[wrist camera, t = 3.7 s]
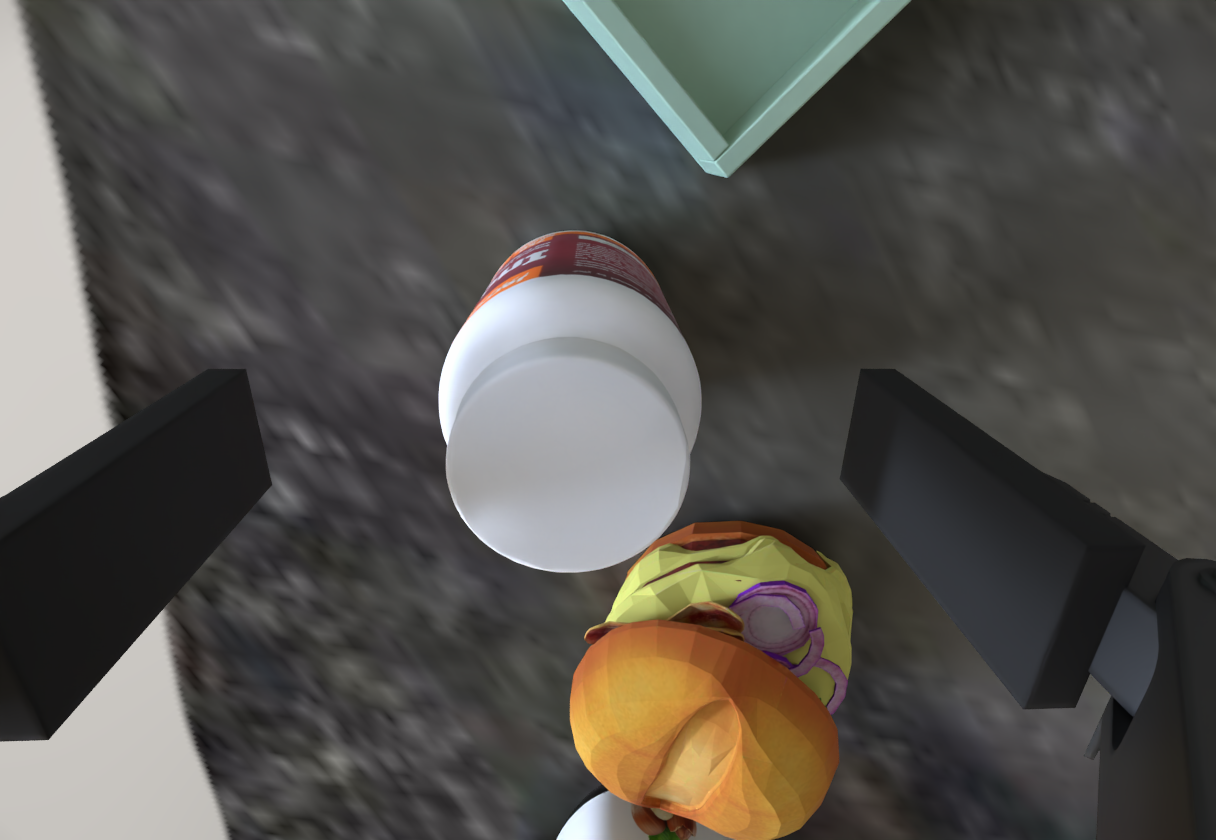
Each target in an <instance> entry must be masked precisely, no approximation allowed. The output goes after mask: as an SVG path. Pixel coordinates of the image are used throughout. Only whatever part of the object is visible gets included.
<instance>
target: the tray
mask: <svg viewBox="0 0 1216 840" xmlns="http://www.w3.org/2000/svg"><path fill="white" fill-rule="evenodd" d="M562 1H563V2H564V3H565V4H566V5H567V7H568V8H569V9H570V10H571V11H572V13H573V14H574V15H575V16H576V17H577V19H578V20H579V21H580V22H581V23H582V25H583V26H584V27H585V28H586V29H587V31H588V32H589V33H590V34H591V35H592V37H593V38H594V39H595V40H596V41H597V43H598V44H599V45H600V46H601V47H602V49H603V50H604V51H605V52H606V53H607V55H608V56H609V57H610V58H611V59H612V61H613V62H614V63H615V64H616V65H617V66H618V68H619V69H620V70H621V71H622V72H623V74H624V75H625V76H626V77H627V78H628V80H629V81H630V82H631V83H632V84H633V86H634V87H635V88H636V89H637V90H638V92H639V93H640V94H641V95H642V96H643V98H644V99H645V100H646V101H647V102H648V104H649V105H650V106H651V107H652V108H653V110H654V111H655V112H656V113H657V114H658V116H659V117H660V118H661V119H662V120H663V122H664V123H665V124H666V125H667V126H668V128H669V129H670V130H671V131H672V132H673V134H674V135H675V136H676V137H677V138H678V140H679V141H680V142H681V143H682V144H683V146H684V147H685V148H686V149H687V150H688V152H689V153H690V154H691V155H692V156H693V158H694V159H695V160H696V161H697V162H698V164H699V165H700V166H701V167H702V168H703V170H704V171H705V172H706V173H709V174H713V175H718V176H722V177H726V178H728V177H730V176H731V175H732V174H733V173H734V172H735V171H736V170H737V169H738V168H739V167H740V166H741V165H742V164H743V163H744V162H745V161H746V160H747V159H748V158H749V157H750V156H751V155H753V154H754V153H755V152H756V151H757V150H758V149H759V148H760V147H761V146H762V145H763V144H764V143H765V142H766V141H767V140H768V139H769V138H770V137H771V136H772V135H773V134H774V133H775V132H776V131H777V130H778V129H779V128H780V127H781V126H782V125H783V124H784V123H786V122H787V121H788V120H789V119H790V118H791V117H792V116H793V115H794V114H795V113H796V112H797V111H798V110H799V109H800V108H801V107H802V106H803V105H804V104H805V103H806V102H807V101H808V100H809V99H810V98H811V97H812V96H813V95H814V94H815V93H816V92H817V91H818V90H820V89H821V88H822V87H823V86H824V85H825V84H826V83H827V82H828V81H829V80H830V79H831V78H832V77H833V76H834V75H835V74H836V73H837V72H838V71H839V70H840V69H841V68H842V67H843V66H844V65H845V64H846V63H847V62H848V61H849V60H850V59H851V58H853V57H854V56H855V55H856V54H857V53H858V52H859V51H860V50H861V49H862V48H863V47H864V46H865V45H866V44H867V43H868V42H869V41H870V40H871V39H872V38H873V37H874V36H875V35H876V34H877V33H878V32H879V31H880V30H881V29H882V28H883V27H884V26H885V25H887V24H888V23H889V22H890V21H891V20H892V19H893V18H894V17H895V16H896V15H897V14H898V13H899V12H900V11H901V10H902V9H903V8H904V7H905V6H906V5H907V4H908V3H909V2H910V1H911V0H562Z"/></svg>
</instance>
